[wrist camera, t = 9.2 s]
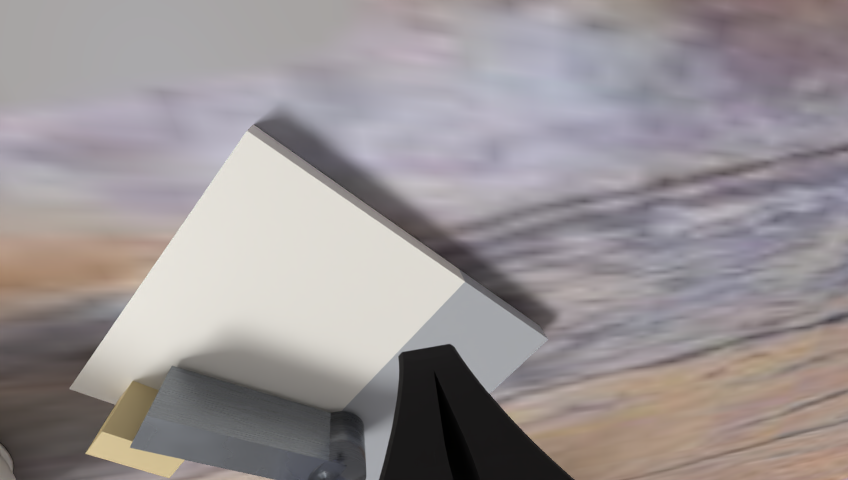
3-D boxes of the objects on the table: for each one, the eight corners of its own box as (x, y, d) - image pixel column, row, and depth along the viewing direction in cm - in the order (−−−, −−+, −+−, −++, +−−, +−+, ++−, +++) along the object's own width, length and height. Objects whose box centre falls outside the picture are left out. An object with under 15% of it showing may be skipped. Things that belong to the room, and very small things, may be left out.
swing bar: (373, 419, 23) (377, 466, 20) (348, 452, 23) (349, 501, 21) (175, 359, 19) (149, 408, 16) (153, 400, 20) (126, 453, 17)
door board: (539, 325, 24) (573, 376, 20) (377, 478, 27) (382, 544, 24) (253, 124, 16) (228, 149, 13) (83, 370, 20) (27, 442, 16)
